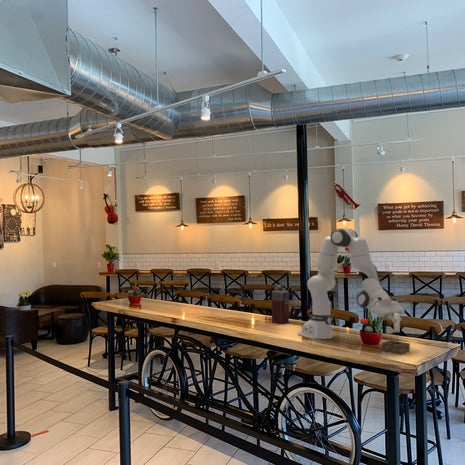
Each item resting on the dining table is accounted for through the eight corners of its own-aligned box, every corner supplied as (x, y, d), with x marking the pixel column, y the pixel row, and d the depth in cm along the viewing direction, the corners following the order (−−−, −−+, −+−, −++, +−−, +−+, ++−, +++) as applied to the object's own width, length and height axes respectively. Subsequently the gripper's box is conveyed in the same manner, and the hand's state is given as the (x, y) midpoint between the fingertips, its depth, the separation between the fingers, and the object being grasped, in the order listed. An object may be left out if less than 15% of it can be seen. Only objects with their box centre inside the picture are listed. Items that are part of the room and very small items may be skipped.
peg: (392, 331, 245) (392, 313, 246) (395, 330, 247) (395, 312, 248) (398, 332, 243) (397, 313, 243) (400, 331, 245) (400, 313, 245)
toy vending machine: (284, 324, 322) (284, 285, 322) (271, 322, 329) (271, 284, 330) (291, 323, 328) (291, 284, 329) (278, 321, 336) (278, 283, 336)
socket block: (382, 350, 246) (382, 342, 246) (390, 348, 253) (390, 340, 253) (401, 354, 238) (401, 346, 238) (409, 351, 245) (409, 343, 245)
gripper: (391, 303, 261) (406, 322, 252) (367, 305, 250) (382, 326, 241) (398, 296, 257) (413, 315, 249) (373, 298, 246) (388, 319, 238)
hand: (397, 321), depth 245 cm, fingers closed on peg, 3 cm apart
